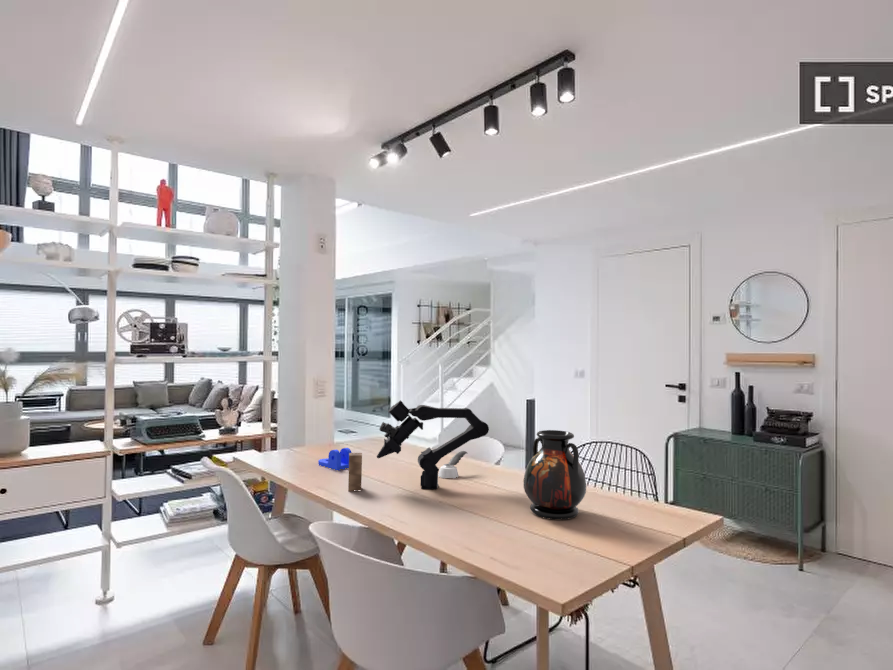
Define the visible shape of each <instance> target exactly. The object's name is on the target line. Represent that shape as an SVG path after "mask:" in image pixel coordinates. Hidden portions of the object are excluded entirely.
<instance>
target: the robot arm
mask: <svg viewBox="0 0 893 670" xmlns="http://www.w3.org/2000/svg"><path fill="white" fill-rule="evenodd" d="M387 412H388V413H389V414H390V416H392V417H393V419H395V421H397V422H401V423H400V425H396V426H393V425H392V424H390V423H389V422H388V423H386V422H384V421H383V422H381V425H380V426H379V431H380V432H382V433H385V434H384V439H383V440H384V441H383V446H381V449H380V450H379V452H378V453H377V455H376V458H377V459H381V458H384V457H386V456H388V455H390V454H393V453H396V455H398V454H400V452H401V451H402V445H403V443H404V442H405V441H406V440H408V439H409V438H410V436H411V435H412V434H413V433H414V432H415V431H416V430H417V429H418V428H419V429H420V430H421V431H422V430H424V422H422V421H425V422H426V421H429V420H430V421H431V420H434V419H439V418H440V419H442V418H443V419H444V418H445V419H465V420H466V421H467V422H468V424H470V425H469V426H468V427H467V428H466V429H465V430H464V431H463V432H461V433H460V434H458V435H456V436H455V437H453V438H451V439H450V440H448V441H447V442H445V443H443V444H441V445H440V446H439V447H437V448H434V449H433V448H431V447H427V448H426V449H425V450H423V451H420V454H419V455H418V458H417V463H418V465H419V467H420V468H421V469H422V471H421V475H420V483H419V484H420V490H423V489H424V490H438V487H439V486H440V485H439V477H438V474H439V470H440V468H439V467H438V466H437V464H438V463H439V462H440V461H441V459H443V458H444V457H445V456H448V455H449V454H450V453H452V452H453V451H455V450H457V449H458V448H460V447H462V446H463V445H465V444H467V443H468V442H471V441H472V440H476V439H480V438H483V437H484V436H486V435H488V433H489V431H490V430H489V429H490V427H489V425H488V424H487V423H486V422H485V421H483V420H480V418H478V417H477V415H476V414H475V413H474V412H473V411H472V410H471V409H470V408H468V407H463V408H462V407H461V408H460V407H459V408H457V407H456V408H454V407H434V406H431V405H425V404H418V405H417V406H416V407H414V408H412V407H411V408H408V407H407V406H406V405H405V403H404V402H403V401H402V400H399V401H397V402H396V403H395V404H393V405H392V406H391V407H390V408H389V409H388V411H387ZM411 416H412V417H411ZM417 418H418V419H417Z"/></svg>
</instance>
